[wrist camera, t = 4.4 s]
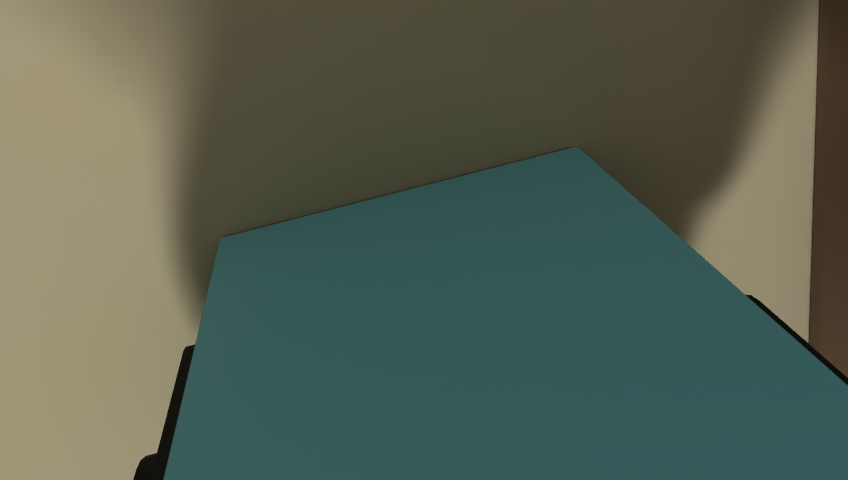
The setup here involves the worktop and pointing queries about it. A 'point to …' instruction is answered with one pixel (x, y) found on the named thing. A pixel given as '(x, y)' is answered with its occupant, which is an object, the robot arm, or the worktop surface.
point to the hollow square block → (496, 346)
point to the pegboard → (831, 191)
